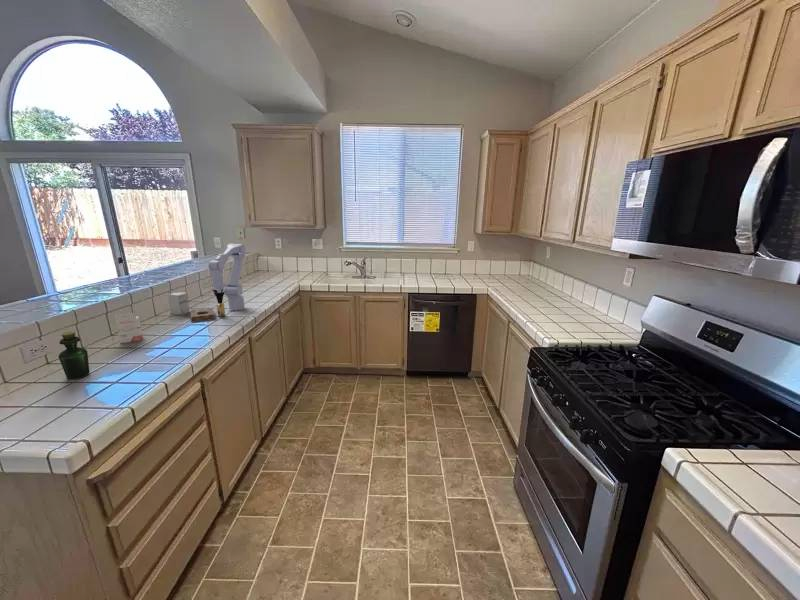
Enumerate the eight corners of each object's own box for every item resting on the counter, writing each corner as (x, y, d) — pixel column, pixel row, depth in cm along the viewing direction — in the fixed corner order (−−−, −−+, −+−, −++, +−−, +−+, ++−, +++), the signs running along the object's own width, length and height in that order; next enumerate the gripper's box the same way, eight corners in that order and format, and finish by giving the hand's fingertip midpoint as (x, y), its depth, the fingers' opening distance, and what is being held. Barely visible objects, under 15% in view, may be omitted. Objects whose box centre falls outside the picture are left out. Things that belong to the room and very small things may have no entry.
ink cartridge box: (143, 337, 170) (138, 310, 167) (141, 340, 166) (136, 313, 162) (122, 339, 166) (116, 312, 163) (119, 343, 162) (114, 314, 158)
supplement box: (180, 314, 207) (177, 295, 203) (170, 313, 208) (167, 294, 205) (189, 311, 214) (187, 292, 210) (180, 310, 215) (177, 291, 212)
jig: (213, 312, 214) (212, 307, 214) (214, 319, 201) (214, 314, 201) (191, 314, 208) (190, 309, 207) (191, 321, 195) (191, 317, 194)
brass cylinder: (225, 315, 209) (223, 302, 207) (225, 316, 206) (224, 304, 204) (217, 315, 207) (216, 303, 205) (218, 317, 204) (216, 305, 202)
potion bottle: (63, 375, 131) (53, 332, 126) (91, 369, 137) (82, 328, 132) (64, 383, 125) (52, 338, 121) (92, 376, 131) (83, 333, 126)
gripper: (209, 278, 205) (211, 299, 208) (210, 282, 193) (213, 305, 196) (222, 277, 208) (224, 298, 212) (224, 282, 197) (226, 304, 200)
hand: (219, 301), depth 204 cm, fingers open, 7 cm apart
